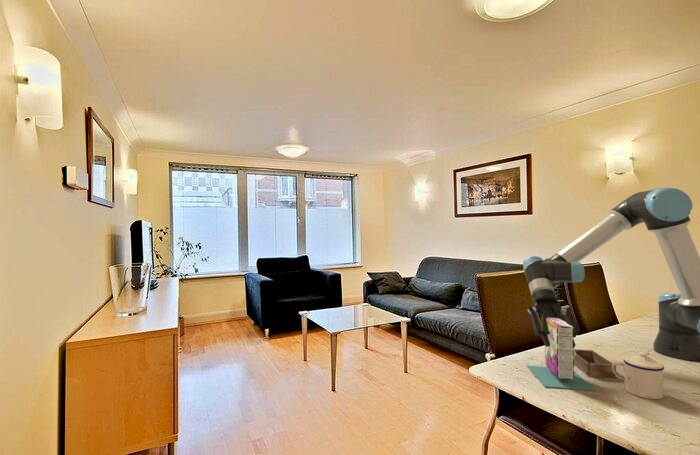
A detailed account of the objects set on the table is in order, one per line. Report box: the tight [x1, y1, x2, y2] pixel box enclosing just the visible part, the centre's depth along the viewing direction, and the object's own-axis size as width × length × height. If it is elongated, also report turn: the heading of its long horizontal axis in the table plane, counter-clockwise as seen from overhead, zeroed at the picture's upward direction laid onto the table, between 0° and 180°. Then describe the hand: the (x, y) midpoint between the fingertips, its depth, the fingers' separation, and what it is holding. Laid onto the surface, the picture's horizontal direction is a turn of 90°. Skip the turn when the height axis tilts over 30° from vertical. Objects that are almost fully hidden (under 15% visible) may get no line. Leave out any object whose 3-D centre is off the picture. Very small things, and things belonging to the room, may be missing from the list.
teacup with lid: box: [612, 351, 665, 400], centre depth 102 cm, size 12×9×12 cm
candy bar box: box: [544, 317, 575, 380], centre depth 111 cm, size 11×5×16 cm, turn 169°
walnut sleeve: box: [574, 348, 617, 379], centre depth 118 cm, size 8×14×4 cm, turn 170°
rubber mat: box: [526, 365, 597, 392], centre depth 111 cm, size 14×16×1 cm
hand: (563, 356), depth 107 cm, fingers closed on candy bar box, 5 cm apart
